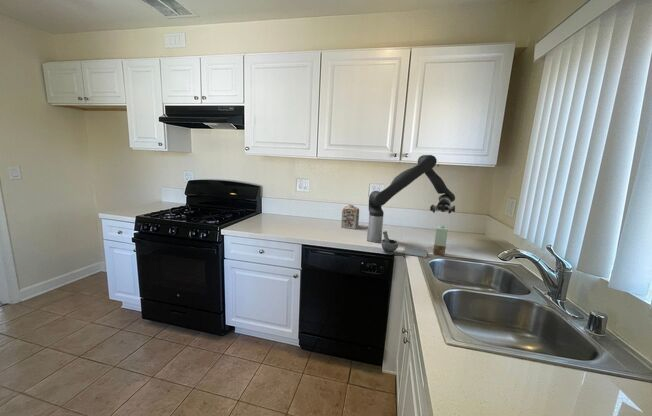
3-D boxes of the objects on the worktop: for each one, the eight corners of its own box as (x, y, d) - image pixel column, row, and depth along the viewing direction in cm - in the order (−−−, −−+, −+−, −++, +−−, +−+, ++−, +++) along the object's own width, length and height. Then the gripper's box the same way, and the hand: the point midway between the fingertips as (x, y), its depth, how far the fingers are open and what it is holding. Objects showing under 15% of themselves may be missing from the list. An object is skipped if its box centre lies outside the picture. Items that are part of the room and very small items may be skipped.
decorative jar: (340, 227, 213) (341, 205, 209) (344, 224, 224) (345, 203, 220) (355, 229, 209) (357, 206, 206) (358, 226, 220) (360, 204, 217)
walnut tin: (433, 254, 159) (434, 241, 157) (433, 251, 164) (434, 238, 163) (444, 256, 157) (446, 243, 155) (444, 253, 162) (445, 240, 161)
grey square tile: (403, 254, 158) (403, 253, 158) (405, 247, 170) (405, 246, 169) (426, 258, 153) (426, 257, 153) (427, 251, 165) (427, 250, 165)
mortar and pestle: (400, 254, 157) (402, 234, 155) (388, 256, 153) (389, 236, 151) (388, 248, 167) (389, 229, 165) (375, 250, 163) (377, 230, 161)
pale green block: (434, 245, 158) (436, 226, 156) (434, 242, 163) (436, 224, 161) (445, 246, 156) (447, 227, 154) (445, 243, 161) (447, 225, 159)
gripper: (432, 198, 180) (429, 205, 167) (456, 199, 173) (454, 206, 160) (432, 209, 182) (428, 216, 169) (456, 210, 175) (454, 218, 162)
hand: (441, 211), depth 164 cm, fingers open, 8 cm apart
